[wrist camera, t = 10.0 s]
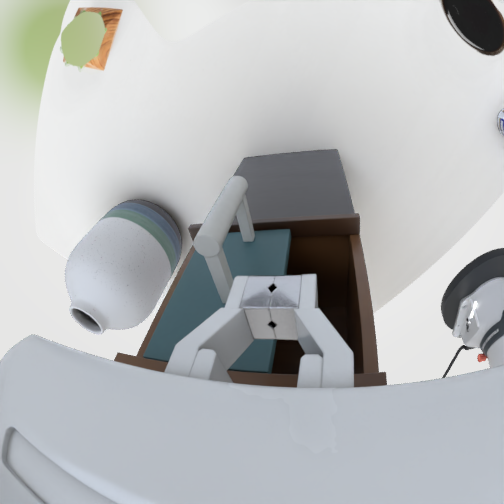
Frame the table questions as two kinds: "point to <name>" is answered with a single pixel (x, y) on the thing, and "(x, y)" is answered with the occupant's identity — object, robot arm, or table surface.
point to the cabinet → (304, 258)
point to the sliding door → (222, 276)
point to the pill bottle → (501, 122)
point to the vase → (122, 266)
